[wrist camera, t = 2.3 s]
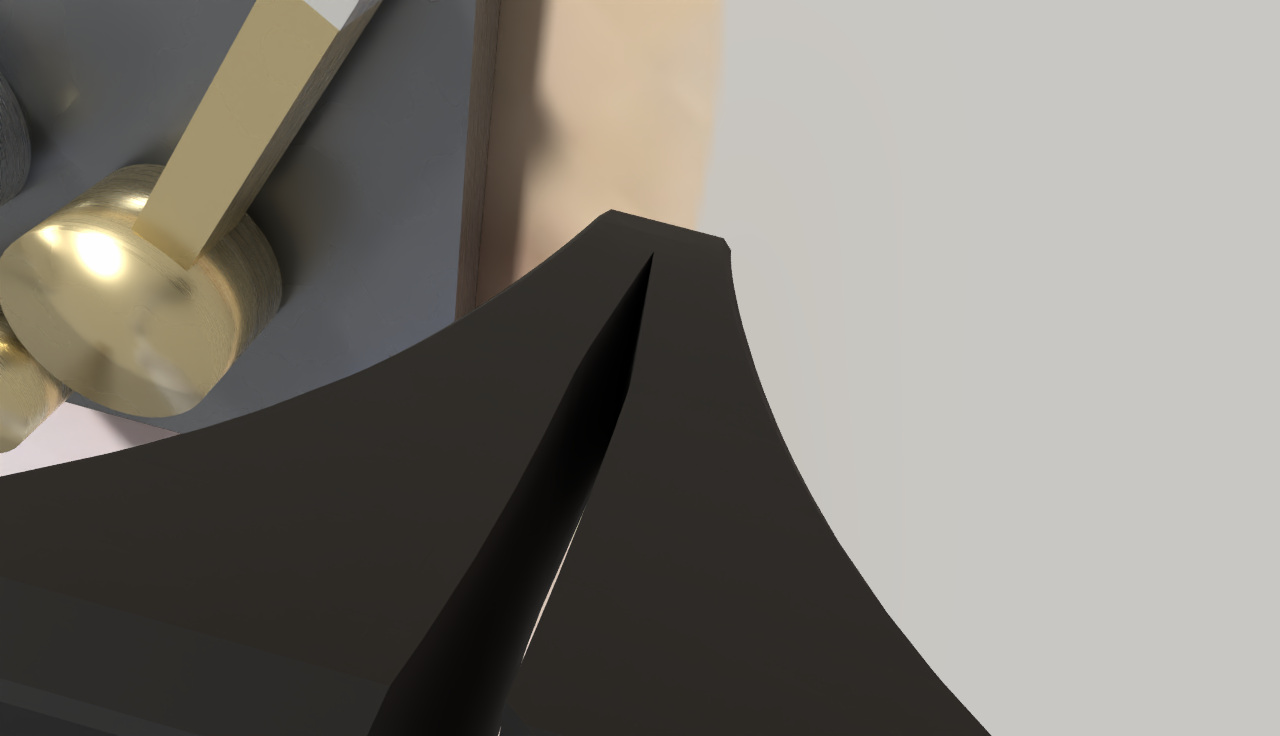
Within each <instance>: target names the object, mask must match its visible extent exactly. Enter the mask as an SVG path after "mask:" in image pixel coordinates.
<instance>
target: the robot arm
mask: <svg viewBox="0 0 1280 736" xmlns="http://www.w3.org/2000/svg"><path fill="white" fill-rule="evenodd" d="M586 504H587V505H586ZM584 509H585V510H584ZM583 511H584V512H583ZM582 514H583V515H582ZM581 516H582V517H581ZM580 518H581V520H580ZM579 521H580V522H579ZM578 523H579V525H578ZM577 525H578V527H577ZM576 527H577V530H576ZM575 530H576V532H575ZM574 532H575V535H574V538H573V540H572V543H571V545H570V548H569V550H568V553H567V555H566V558H565V560H564V563H563V565H562V568H561V570H560V573H559V575H558V578H557V580H556V583H555V585H554V587H553V590H552V592H551V595H550V597H549V599H548V602H547V604H546V606H545V609H544V611H543V613H542V616H541V618H540V621H539V623H538V625H537V628H536V630H535V632H534V635H533V637H532V640H531V642H530V644H529V647H528V649H527V651H526V654H525V656H524V653H525V650H526V647H527V644H528V642H529V639H530V636H531V634H532V631H533V628H534V626H535V623H536V621H537V618H538V615H539V613H540V610H541V608H542V605H543V603H544V601H545V599H546V596H547V594H548V592H549V589H550V587H551V585H552V583H553V580H554V578H555V576H556V573H557V571H558V569H559V566H560V564H561V562H562V560H563V557H564V555H565V553H566V550H567V548H568V546H569V543H570V541H571V539H572V537H573V534H574ZM523 656H524V658H523ZM522 659H523V661H522ZM521 662H522V663H521ZM520 665H521V666H520ZM500 727H501V729H500ZM499 731H500V735H499V736H991V735H990V734H989V733H988V732H987V730H986V729H985V728H984V727H983V726H982V725H981V724H980V723H979V722H978V720H977V719H976V718H975V717H974V716H973V715H972V714H971V713H970V712H969V711H968V710H967V708H966V707H964V705H963V704H962V703H961V702H960V701H959V700H958V699H957V697H955V695H954V694H953V693H952V692H951V691H950V690H949V689H948V688H947V686H945V684H944V683H943V682H942V681H941V680H940V679H939V677H938V676H937V675H936V674H935V673H934V672H933V670H932V669H931V668H930V666H929V665H928V664H927V663H926V662H925V660H924V659H923V658H922V656H921V655H920V654H919V653H918V651H917V650H916V649H915V648H914V646H913V645H912V644H911V642H910V641H909V640H908V639H907V637H906V636H905V635H904V634H903V632H902V631H901V630H900V629H899V627H898V626H897V625H896V624H895V622H894V621H893V620H892V619H891V617H890V616H889V615H888V613H887V612H886V611H885V609H884V608H883V606H882V605H881V603H880V602H879V600H878V599H877V597H876V596H875V595H874V593H873V592H872V590H871V589H870V587H869V586H868V584H867V583H866V581H865V580H864V579H863V577H862V576H861V574H860V573H859V571H858V570H857V568H856V567H855V565H854V564H853V562H852V561H851V559H850V558H849V557H848V555H847V554H846V552H845V551H844V549H843V548H842V546H841V545H840V543H839V542H838V540H837V538H836V537H835V535H834V533H833V532H832V530H831V528H830V526H829V525H828V523H827V521H826V520H825V518H824V516H823V514H822V513H821V511H820V509H819V507H818V506H817V504H816V502H815V501H814V499H813V497H812V495H811V493H810V491H809V490H808V488H807V486H806V484H805V482H804V480H803V478H802V476H801V474H800V472H799V470H798V468H797V466H796V465H795V463H794V460H793V459H792V456H791V454H790V452H789V450H788V448H787V446H786V444H785V441H784V439H783V437H782V435H781V432H780V430H779V428H778V426H777V423H776V421H775V418H774V416H773V413H772V411H771V408H770V406H769V403H768V401H767V398H766V396H765V393H764V391H763V388H762V385H761V382H760V380H759V377H758V374H757V371H756V368H755V365H754V362H753V358H752V355H751V352H750V349H749V345H748V342H747V339H746V335H745V332H744V329H743V325H742V321H741V317H740V313H739V309H738V304H737V300H736V295H735V290H734V284H733V278H732V270H731V250H730V248H729V246H728V245H727V243H726V241H725V240H724V238H720V237H716V236H713V235H709V234H705V233H701V232H697V231H693V230H690V229H686V228H682V227H678V226H674V225H670V224H666V223H662V222H658V221H655V220H651V219H647V218H643V217H639V216H635V215H631V214H627V213H624V212H620V211H616V210H612V209H611V210H609V211H607V212H605V213H604V214H602V215H600V216H599V217H597V218H596V219H595V220H594V221H593V222H592V223H591V224H589V225H588V226H587V227H586V228H585V229H584V230H582V231H581V232H580V233H579V234H578V235H576V236H575V237H574V238H573V239H572V240H570V241H569V242H568V243H567V244H566V245H564V246H563V247H562V248H560V249H559V250H558V251H557V252H555V253H554V254H553V255H552V256H550V257H549V258H548V259H546V260H545V261H544V262H542V263H541V264H540V265H538V266H537V267H536V268H534V269H533V270H531V271H530V272H529V273H527V274H526V275H524V276H523V277H522V278H520V279H519V280H518V281H516V282H515V283H513V284H512V285H511V286H509V287H508V288H506V289H505V290H504V291H502V292H501V293H499V294H498V295H496V296H495V297H493V298H492V299H490V300H488V301H487V302H485V303H484V304H482V305H480V306H479V307H477V308H476V309H474V310H472V311H471V312H469V313H468V314H466V315H464V316H463V317H461V318H459V319H458V320H456V321H455V322H453V323H451V324H450V325H448V326H447V327H445V328H443V329H442V330H440V331H438V332H436V333H435V334H433V335H431V336H429V337H427V338H426V339H424V340H422V341H420V342H418V343H416V344H415V345H413V346H411V347H409V348H407V349H405V350H403V351H401V352H399V353H397V354H395V355H393V356H391V357H389V358H387V359H385V360H383V361H381V362H379V363H377V364H375V365H373V366H371V367H369V368H366V369H364V370H362V371H360V372H357V373H355V374H353V375H350V376H348V377H345V378H342V379H340V380H337V381H335V382H332V383H330V384H327V385H324V386H322V387H319V388H317V389H314V390H311V391H309V392H306V393H304V394H301V395H298V396H296V397H293V398H291V399H288V400H285V401H283V402H280V403H278V404H275V405H272V406H270V407H267V408H264V409H261V410H258V411H255V412H252V413H249V414H246V415H243V416H240V417H237V418H234V419H230V420H227V421H224V422H221V423H218V424H215V425H211V426H208V427H205V428H202V429H198V430H194V431H191V432H187V433H184V434H180V435H177V436H173V437H169V438H166V439H162V440H159V441H155V442H152V443H148V444H144V445H140V446H136V447H132V448H128V449H124V450H120V451H116V452H112V453H108V454H104V455H99V456H94V457H90V458H85V459H81V460H76V461H71V462H67V463H62V464H57V465H53V466H48V467H43V468H39V469H34V470H29V471H25V472H20V473H15V474H11V475H6V476H1V477H0V736H498V734H499Z"/></svg>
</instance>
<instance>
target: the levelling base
mask: <svg viewBox="0 0 1280 736" xmlns="http://www.w3.org/2000/svg"><path fill="white" fill-rule="evenodd" d="M255 2H256V0H0V258H1V256H2V255H3V253H4V251H5V250H6V249H7V248H8V247H9V246H10V245H11V244H12V243H13V242H14V241H16V240H17V239H19V238H20V237H21V236H23V235H24V234H26V233H27V232H28V231H30V230H31V229H33V228H34V227H36V226H37V225H38V224H40V223H41V222H43V221H44V220H45V219H47V218H48V217H50V216H51V215H52V214H54V213H55V212H57V211H58V210H60V209H61V208H62V207H64V206H65V205H67V204H68V203H69V202H71V201H72V200H74V199H75V198H76V197H78V196H79V195H81V194H82V193H84V192H85V191H86V190H88V189H89V188H91V187H92V186H93V185H95V184H96V183H98V182H99V181H100V180H102V179H103V178H105V177H106V176H108V175H109V174H111V173H112V172H114V171H116V170H118V169H120V168H123V167H126V166H131V165H137V164H155V165H163V166H166V165H167V163H168V161H169V159H170V157H171V156H172V154H173V152H174V150H175V148H176V146H177V145H178V143H179V141H180V139H181V137H182V135H183V134H184V132H185V130H186V128H187V126H188V125H189V123H190V121H191V119H192V117H193V115H194V114H195V112H196V110H197V108H198V106H199V104H200V103H201V101H202V99H203V97H204V95H205V93H206V92H207V90H208V88H209V86H210V84H211V83H212V81H213V79H214V77H215V75H216V73H217V72H218V70H219V68H220V66H221V64H222V62H223V61H224V59H225V57H226V55H227V53H228V51H229V50H230V48H231V46H232V44H233V42H234V41H235V39H236V37H237V35H238V33H239V31H240V30H241V28H242V26H243V24H244V22H245V20H246V19H247V17H248V15H249V13H250V11H251V9H252V8H253V6H254V4H255ZM499 11H500V0H383V1H382V2H381V4H380V6H379V7H378V9H377V10H376V12H375V13H374V15H373V16H372V18H371V19H370V21H369V23H368V24H367V26H366V27H365V29H364V30H363V32H362V33H361V35H360V36H359V38H358V40H357V41H356V43H355V44H354V46H353V47H352V49H351V50H350V52H349V53H348V55H347V57H346V58H345V60H344V61H343V63H342V64H341V66H340V67H339V69H338V70H337V72H336V74H335V75H334V77H333V78H332V80H331V81H330V83H329V84H328V86H327V87H326V89H325V91H324V92H323V94H322V95H321V97H320V98H319V100H318V101H317V103H316V104H315V106H314V108H313V109H312V111H311V112H310V114H309V115H308V117H307V118H306V120H305V121H304V123H303V125H302V126H301V128H300V129H299V131H298V132H297V134H296V135H295V137H294V138H293V140H292V142H291V143H290V145H289V146H288V148H287V149H286V151H285V152H284V154H283V155H282V157H281V159H280V160H279V162H278V163H277V165H276V166H275V168H274V169H273V171H272V172H271V174H270V176H269V177H268V179H267V180H266V182H265V183H264V185H263V186H262V188H261V189H260V191H259V193H258V194H257V196H256V197H255V199H254V200H253V202H252V203H251V205H250V206H249V208H248V210H247V211H246V213H248V215H249V216H250V217H251V218H252V219H253V220H254V222H255V223H256V224H257V225H258V227H259V228H260V230H261V231H262V232H263V234H264V235H265V237H266V239H267V240H268V242H269V244H270V246H271V248H272V250H273V252H274V254H275V257H276V259H277V262H278V266H279V269H280V273H281V280H282V296H281V302H280V305H279V308H278V311H277V313H276V314H275V316H274V318H273V319H272V321H271V322H270V323H269V324H268V325H267V326H266V327H265V329H264V330H263V331H262V332H261V333H260V334H259V335H258V337H257V338H256V339H255V340H254V341H253V342H252V343H251V345H250V346H249V347H248V348H247V349H246V350H245V351H244V353H243V354H242V355H241V356H240V357H239V358H238V359H237V361H236V362H235V363H234V364H233V365H232V366H231V367H230V369H229V370H228V371H227V372H226V373H225V374H224V375H223V377H222V378H221V379H220V380H219V381H218V382H217V383H216V385H215V386H214V387H213V388H212V389H211V390H210V391H209V393H208V394H207V395H206V396H205V397H204V398H203V399H202V400H201V401H200V403H199V404H198V405H196V406H195V407H193V408H192V409H190V410H188V411H186V412H184V413H182V414H178V415H174V416H169V417H142V416H135V415H131V414H126V413H122V412H119V411H116V410H113V409H110V408H108V407H105V406H103V405H100V404H98V403H96V402H94V401H92V400H90V399H88V398H86V397H84V396H82V395H81V394H79V393H77V392H76V391H74V390H72V389H71V388H69V387H68V386H67V385H65V384H64V383H62V382H61V381H60V380H58V379H57V378H56V377H55V376H53V375H52V374H51V373H50V372H48V371H47V370H46V369H45V368H44V367H43V366H42V365H41V364H40V363H39V362H38V361H37V360H36V359H35V358H34V357H33V356H32V355H31V354H30V353H29V352H28V350H27V349H26V348H25V347H24V345H23V344H22V343H21V342H20V340H19V339H18V338H17V336H16V335H15V333H14V331H13V330H12V328H11V327H10V325H9V323H8V321H7V319H6V317H5V315H4V313H3V310H2V307H1V305H0V453H4V452H8V451H10V450H12V449H14V448H16V447H17V446H18V445H19V444H20V443H21V442H22V441H23V440H24V439H26V438H27V437H28V436H29V435H30V434H31V433H32V432H33V431H34V430H35V429H36V428H37V427H38V426H39V425H40V424H41V423H42V422H43V421H44V420H46V419H47V418H48V417H49V416H50V415H51V414H52V413H53V412H54V411H55V410H56V409H57V408H58V407H59V406H60V405H61V404H62V403H63V402H68V403H72V404H75V405H79V406H83V407H86V408H90V409H94V410H97V411H101V412H105V413H108V414H112V415H116V416H119V417H123V418H127V419H130V420H134V421H138V422H141V423H145V424H149V425H152V426H156V427H160V428H163V429H167V430H171V431H175V432H178V433H182V434H184V433H187V432H191V431H194V430H198V429H202V428H205V427H208V426H211V425H215V424H218V423H221V422H224V421H227V420H230V419H234V418H237V417H240V416H243V415H246V414H249V413H252V412H255V411H258V410H261V409H264V408H267V407H270V406H272V405H275V404H278V403H280V402H283V401H285V400H288V399H291V398H293V397H296V396H298V395H301V394H304V393H306V392H309V391H311V390H314V389H317V388H319V387H322V386H324V385H327V384H330V383H332V382H335V381H337V380H340V379H342V378H345V377H348V376H350V375H353V374H355V373H357V372H360V371H362V370H364V369H366V368H369V367H371V366H373V365H375V364H377V363H379V362H381V361H383V360H385V359H387V358H389V357H391V356H393V355H395V354H397V353H399V352H401V351H403V350H405V349H407V348H409V347H411V346H413V345H415V344H416V343H418V342H420V341H422V340H424V339H426V338H427V337H429V336H431V335H433V334H435V333H436V332H438V331H440V330H442V329H443V328H445V327H447V326H448V325H450V324H451V323H453V322H455V321H456V320H458V319H459V318H461V317H463V316H464V315H466V314H468V313H469V312H471V311H472V310H474V309H475V300H476V288H477V276H478V264H479V252H480V240H481V228H482V216H483V204H484V192H485V180H486V168H487V156H488V144H489V132H490V120H491V107H492V95H493V83H494V71H495V59H496V47H497V35H498V23H499Z"/></svg>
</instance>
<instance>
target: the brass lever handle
mask: <svg viewBox="0 0 1280 736" xmlns="http://www.w3.org/2000/svg"><path fill="white" fill-rule="evenodd" d="M382 1H383V0H256V2H255V4H254V6H253V8H252V9H251V11H250V13H249V15H248V17H247V19H246V20H245V22H244V24H243V26H242V28H241V30H240V31H239V33H238V35H237V37H236V39H235V41H234V42H233V44H232V46H231V48H230V50H229V51H228V53H227V55H226V57H225V59H224V61H223V62H222V64H221V66H220V68H219V70H218V72H217V73H216V75H215V77H214V79H213V81H212V83H211V84H210V86H209V88H208V90H207V92H206V93H205V95H204V97H203V99H202V101H201V103H200V104H199V106H198V108H197V110H196V112H195V114H194V115H193V117H192V119H191V121H190V123H189V125H188V126H187V128H186V130H185V132H184V134H183V135H182V137H181V139H180V141H179V143H178V145H177V146H176V148H175V150H174V152H173V154H172V156H171V157H170V159H169V161H168V163H167V165H166V166H163V165H155V164H137V165H131V166H126V167H123V168H120V169H118V170H116V171H114V172H112V173H111V174H109V175H108V176H106V177H105V178H103V179H102V180H100V181H99V182H98V183H96V184H95V185H93V186H92V187H91V188H89V189H88V190H86V191H85V192H84V193H82V194H81V195H79V196H78V197H76V198H75V199H74V200H72V201H71V202H69V203H68V204H67V205H65V206H64V207H62V208H61V209H60V210H58V211H57V212H55V213H54V214H52V215H51V216H50V217H48V218H47V219H45V220H44V221H43V222H41V223H40V224H38V225H37V226H36V227H34V228H33V229H31V230H30V231H28V232H27V233H26V234H24V235H23V236H21V237H20V238H19V239H17V240H16V241H14V242H13V243H12V244H11V245H10V246H9V247H8V248H7V249H6V250H5V251H4V253H3V255H2V256H1V258H0V305H1V307H2V310H3V313H4V315H5V317H6V319H7V321H8V323H9V325H10V327H11V328H12V330H13V331H14V333H15V335H16V336H17V338H18V339H19V340H20V342H21V343H22V344H23V345H24V347H25V348H26V349H27V350H28V352H29V353H30V354H31V355H32V356H33V357H34V358H35V359H36V360H37V361H38V362H39V363H40V364H41V365H42V366H43V367H44V368H45V369H46V370H47V371H48V372H50V373H51V374H52V375H53V376H55V377H56V378H57V379H58V380H60V381H61V382H62V383H64V384H65V385H67V386H68V387H69V388H71V389H72V390H74V391H76V392H77V393H79V394H81V395H82V396H84V397H86V398H88V399H90V400H92V401H94V402H96V403H98V404H100V405H103V406H105V407H108V408H110V409H113V410H116V411H119V412H122V413H126V414H131V415H135V416H142V417H169V416H174V415H178V414H182V413H184V412H186V411H188V410H190V409H192V408H193V407H195V406H196V405H198V404H199V403H200V401H201V400H202V399H203V398H204V397H205V396H206V395H207V394H208V393H209V391H210V390H211V389H212V388H213V387H214V386H215V385H216V383H217V382H218V381H219V380H220V379H221V378H222V377H223V375H224V374H225V373H226V372H227V371H228V370H229V369H230V367H231V366H232V365H233V364H234V363H235V362H236V361H237V359H238V358H239V357H240V356H241V355H242V354H243V353H244V351H245V350H246V349H247V348H248V347H249V346H250V345H251V343H252V342H253V341H254V340H255V339H256V338H257V337H258V335H259V334H260V333H261V332H262V331H263V330H264V329H265V327H266V326H267V325H268V324H269V323H270V322H271V321H272V319H273V318H274V316H275V314H276V313H277V311H278V308H279V305H280V302H281V296H282V280H281V273H280V269H279V266H278V262H277V259H276V257H275V254H274V252H273V250H272V248H271V246H270V244H269V242H268V240H267V239H266V237H265V235H264V234H263V232H262V231H261V230H260V228H259V227H258V225H257V224H256V223H255V222H254V220H253V219H252V218H251V217H250V216H249V215H248V213H246V211H247V210H248V208H249V206H250V205H251V203H252V202H253V200H254V199H255V197H256V196H257V194H258V193H259V191H260V189H261V188H262V186H263V185H264V183H265V182H266V180H267V179H268V177H269V176H270V174H271V172H272V171H273V169H274V168H275V166H276V165H277V163H278V162H279V160H280V159H281V157H282V155H283V154H284V152H285V151H286V149H287V148H288V146H289V145H290V143H291V142H292V140H293V138H294V137H295V135H296V134H297V132H298V131H299V129H300V128H301V126H302V125H303V123H304V121H305V120H306V118H307V117H308V115H309V114H310V112H311V111H312V109H313V108H314V106H315V104H316V103H317V101H318V100H319V98H320V97H321V95H322V94H323V92H324V91H325V89H326V87H327V86H328V84H329V83H330V81H331V80H332V78H333V77H334V75H335V74H336V72H337V70H338V69H339V67H340V66H341V64H342V63H343V61H344V60H345V58H346V57H347V55H348V53H349V52H350V50H351V49H352V47H353V46H354V44H355V43H356V41H357V40H358V38H359V36H360V35H361V33H362V32H363V30H364V29H365V27H366V26H367V24H368V23H369V21H370V19H371V18H372V16H373V15H374V13H375V12H376V10H377V9H378V7H379V6H380V4H381V2H382Z"/></svg>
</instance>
